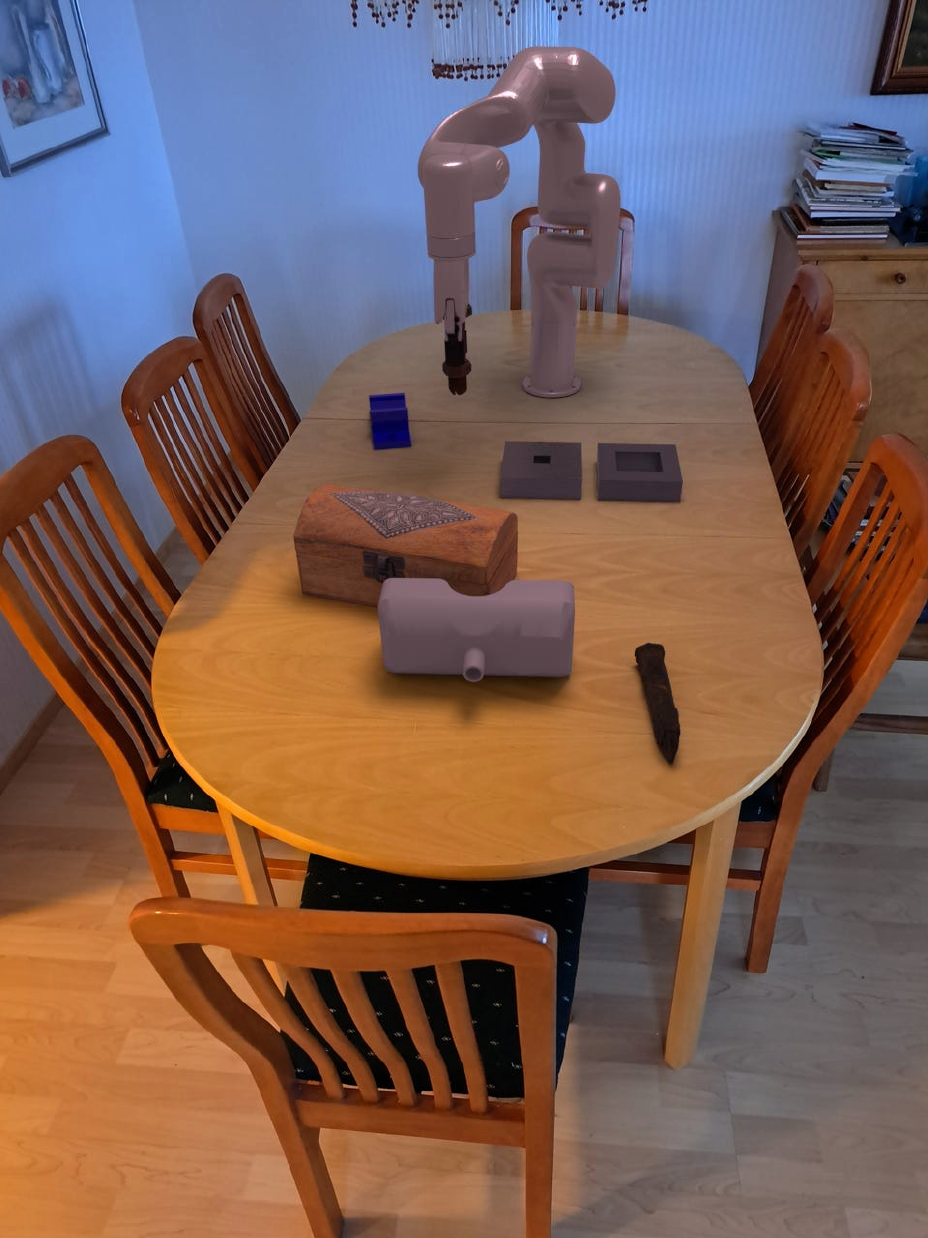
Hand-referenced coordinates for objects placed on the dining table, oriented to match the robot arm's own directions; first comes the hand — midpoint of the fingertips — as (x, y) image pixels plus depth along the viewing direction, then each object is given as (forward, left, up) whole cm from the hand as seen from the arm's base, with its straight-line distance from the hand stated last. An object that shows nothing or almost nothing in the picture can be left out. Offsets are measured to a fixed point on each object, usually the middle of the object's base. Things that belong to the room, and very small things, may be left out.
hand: (456, 357), depth 151 cm
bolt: (0, 0, -7) cm, 7 cm away
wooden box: (+35, -4, -23) cm, 42 cm away
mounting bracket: (-19, -16, -23) cm, 34 cm away
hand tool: (+60, +32, -23) cm, 72 cm away
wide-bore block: (+1, +32, -22) cm, 39 cm away
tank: (+54, +8, -23) cm, 59 cm away
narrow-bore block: (+1, +15, -22) cm, 27 cm away
